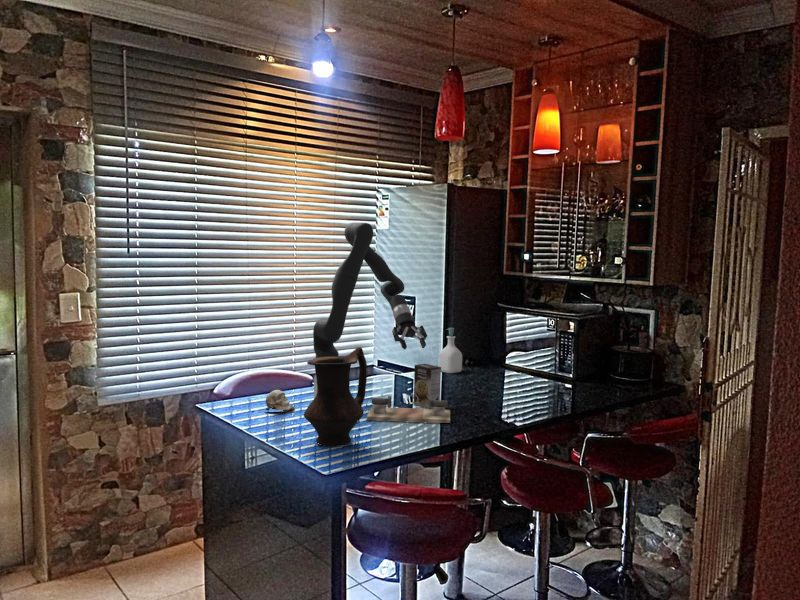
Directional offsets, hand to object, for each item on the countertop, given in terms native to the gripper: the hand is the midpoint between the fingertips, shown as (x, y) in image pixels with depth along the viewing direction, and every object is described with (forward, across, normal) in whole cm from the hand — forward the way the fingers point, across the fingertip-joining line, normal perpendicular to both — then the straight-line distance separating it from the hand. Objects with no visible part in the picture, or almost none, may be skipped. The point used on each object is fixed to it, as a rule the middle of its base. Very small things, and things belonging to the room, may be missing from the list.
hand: (414, 347), depth 255 cm
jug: (+46, -49, -16) cm, 69 cm away
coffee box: (+24, 0, +7) cm, 25 cm away
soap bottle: (-17, +44, +49) cm, 68 cm away
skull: (+13, -56, +17) cm, 60 cm away
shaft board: (+32, -14, -2) cm, 36 cm away
